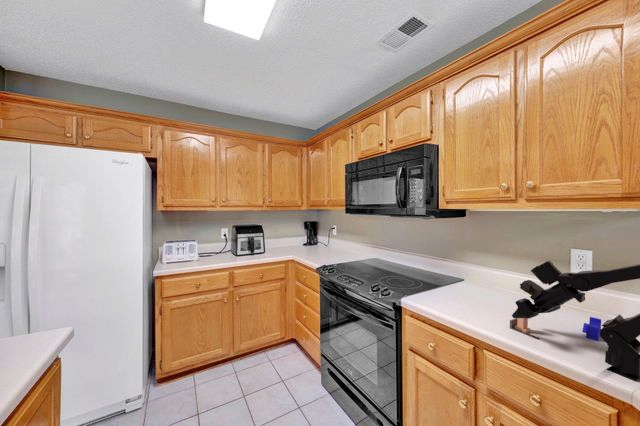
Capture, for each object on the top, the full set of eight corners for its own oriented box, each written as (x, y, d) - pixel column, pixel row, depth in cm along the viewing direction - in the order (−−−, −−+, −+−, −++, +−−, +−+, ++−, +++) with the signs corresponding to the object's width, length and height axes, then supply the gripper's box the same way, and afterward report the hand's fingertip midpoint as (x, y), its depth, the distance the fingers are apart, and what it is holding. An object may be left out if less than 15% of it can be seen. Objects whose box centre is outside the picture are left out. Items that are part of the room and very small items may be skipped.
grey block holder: (547, 341, 94) (547, 329, 94) (539, 344, 92) (539, 331, 92) (516, 329, 103) (517, 318, 103) (509, 331, 101) (509, 320, 101)
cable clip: (584, 330, 103) (584, 315, 103) (600, 334, 100) (601, 319, 100) (580, 340, 96) (580, 324, 96) (597, 345, 92) (598, 328, 92)
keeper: (530, 331, 99) (531, 308, 98) (526, 333, 97) (526, 309, 97) (518, 327, 102) (519, 304, 102) (514, 328, 101) (515, 305, 101)
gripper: (551, 272, 99) (518, 292, 109) (522, 278, 91) (490, 298, 102) (577, 300, 92) (540, 318, 102) (548, 308, 84) (511, 327, 95)
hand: (520, 314), depth 101 cm, fingers open, 9 cm apart
